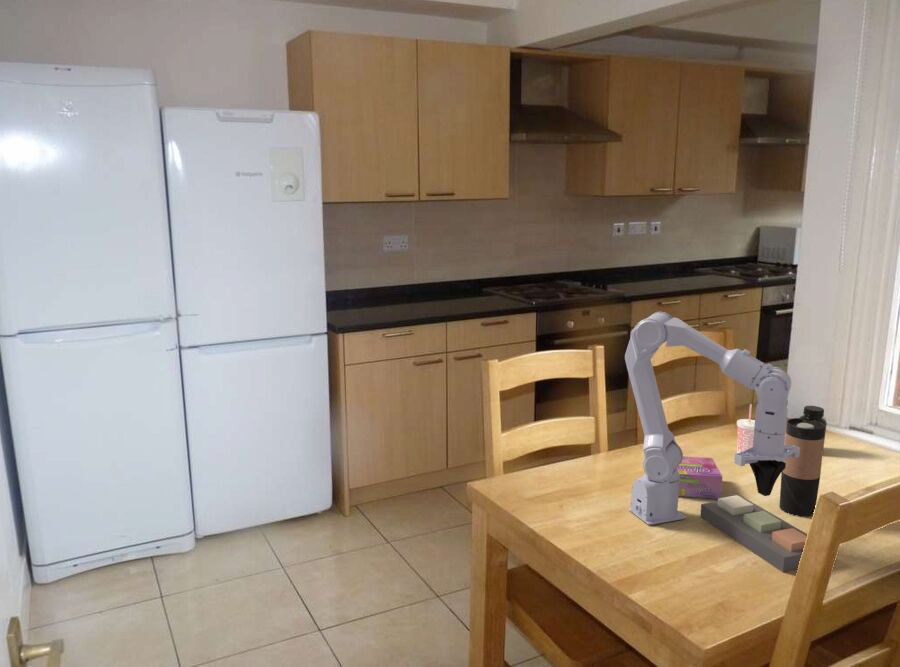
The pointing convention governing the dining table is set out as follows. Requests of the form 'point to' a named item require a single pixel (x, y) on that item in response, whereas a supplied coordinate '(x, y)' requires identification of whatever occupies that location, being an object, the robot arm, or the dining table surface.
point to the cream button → (735, 505)
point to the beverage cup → (745, 433)
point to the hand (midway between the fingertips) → (763, 493)
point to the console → (753, 535)
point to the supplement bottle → (814, 415)
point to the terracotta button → (789, 539)
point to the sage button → (762, 521)
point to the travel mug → (802, 467)
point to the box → (699, 478)
